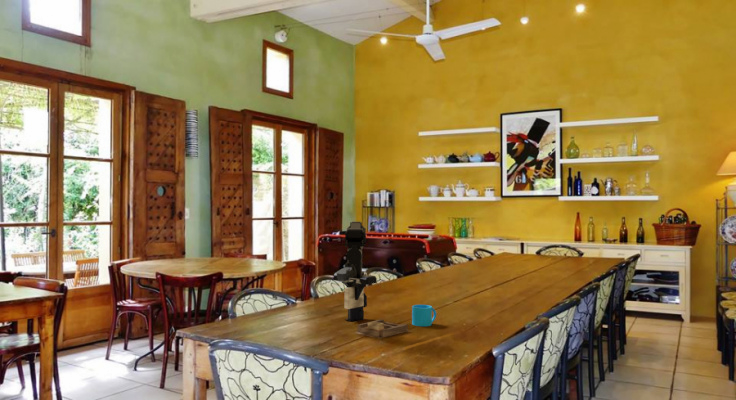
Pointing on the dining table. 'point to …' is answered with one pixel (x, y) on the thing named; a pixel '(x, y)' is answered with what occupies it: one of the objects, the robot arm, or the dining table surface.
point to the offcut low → (375, 330)
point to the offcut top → (375, 325)
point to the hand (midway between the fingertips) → (354, 299)
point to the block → (352, 298)
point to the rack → (388, 330)
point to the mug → (422, 315)
